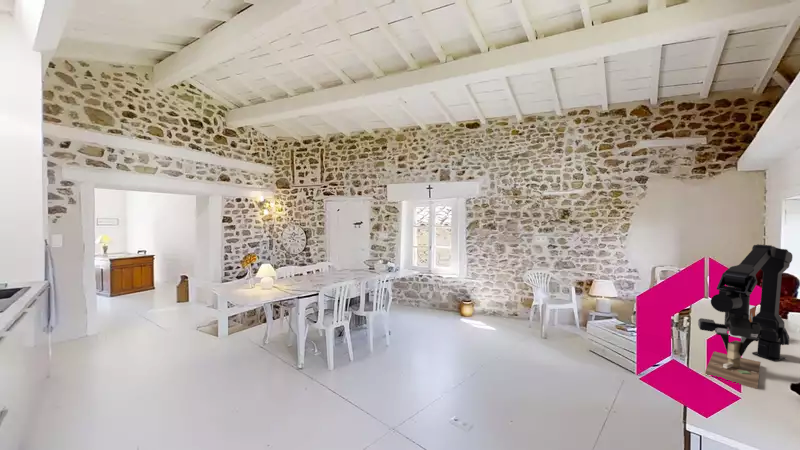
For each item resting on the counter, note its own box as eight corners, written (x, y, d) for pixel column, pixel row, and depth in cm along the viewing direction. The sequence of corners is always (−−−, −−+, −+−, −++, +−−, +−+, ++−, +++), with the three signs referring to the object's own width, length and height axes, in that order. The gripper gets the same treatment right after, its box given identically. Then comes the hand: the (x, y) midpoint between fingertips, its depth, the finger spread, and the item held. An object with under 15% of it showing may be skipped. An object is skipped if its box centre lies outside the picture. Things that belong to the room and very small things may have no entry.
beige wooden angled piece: (731, 362, 121) (733, 339, 121) (743, 366, 118) (744, 342, 118) (719, 367, 118) (720, 343, 117) (730, 371, 115) (732, 346, 115)
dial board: (713, 355, 131) (714, 350, 131) (760, 366, 122) (760, 361, 122) (705, 375, 116) (705, 369, 116) (757, 389, 107) (757, 383, 107)
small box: (748, 340, 145) (750, 309, 144) (728, 335, 150) (729, 305, 150) (754, 336, 150) (756, 305, 149) (734, 331, 155) (735, 302, 154)
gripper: (703, 309, 116) (700, 356, 117) (785, 319, 106) (782, 371, 106) (699, 301, 125) (696, 345, 126) (774, 310, 115) (771, 358, 116)
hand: (734, 354), depth 118 cm, fingers closed on beige wooden angled piece, 3 cm apart
